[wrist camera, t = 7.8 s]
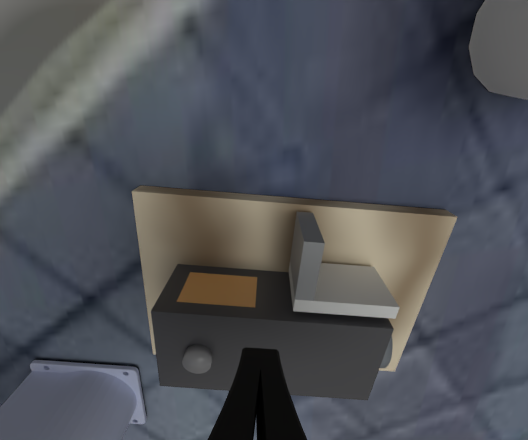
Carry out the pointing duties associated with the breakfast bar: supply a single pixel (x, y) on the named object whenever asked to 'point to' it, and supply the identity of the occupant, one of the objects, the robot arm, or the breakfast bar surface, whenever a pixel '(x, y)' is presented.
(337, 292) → the door
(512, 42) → the foam cup
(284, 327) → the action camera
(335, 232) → the board
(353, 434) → the breakfast bar surface
